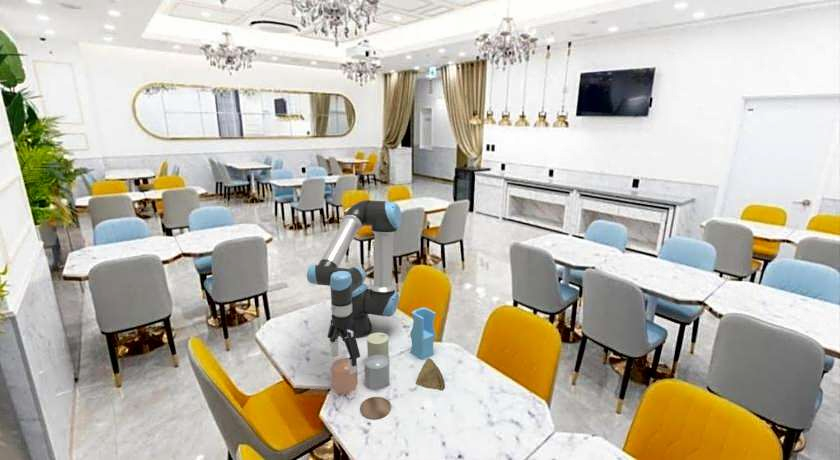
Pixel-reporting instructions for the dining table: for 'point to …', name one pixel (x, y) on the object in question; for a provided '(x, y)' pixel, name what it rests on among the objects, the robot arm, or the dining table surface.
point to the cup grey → (377, 372)
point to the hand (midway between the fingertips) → (343, 364)
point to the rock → (430, 376)
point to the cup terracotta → (343, 377)
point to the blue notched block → (422, 333)
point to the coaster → (375, 408)
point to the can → (378, 344)
